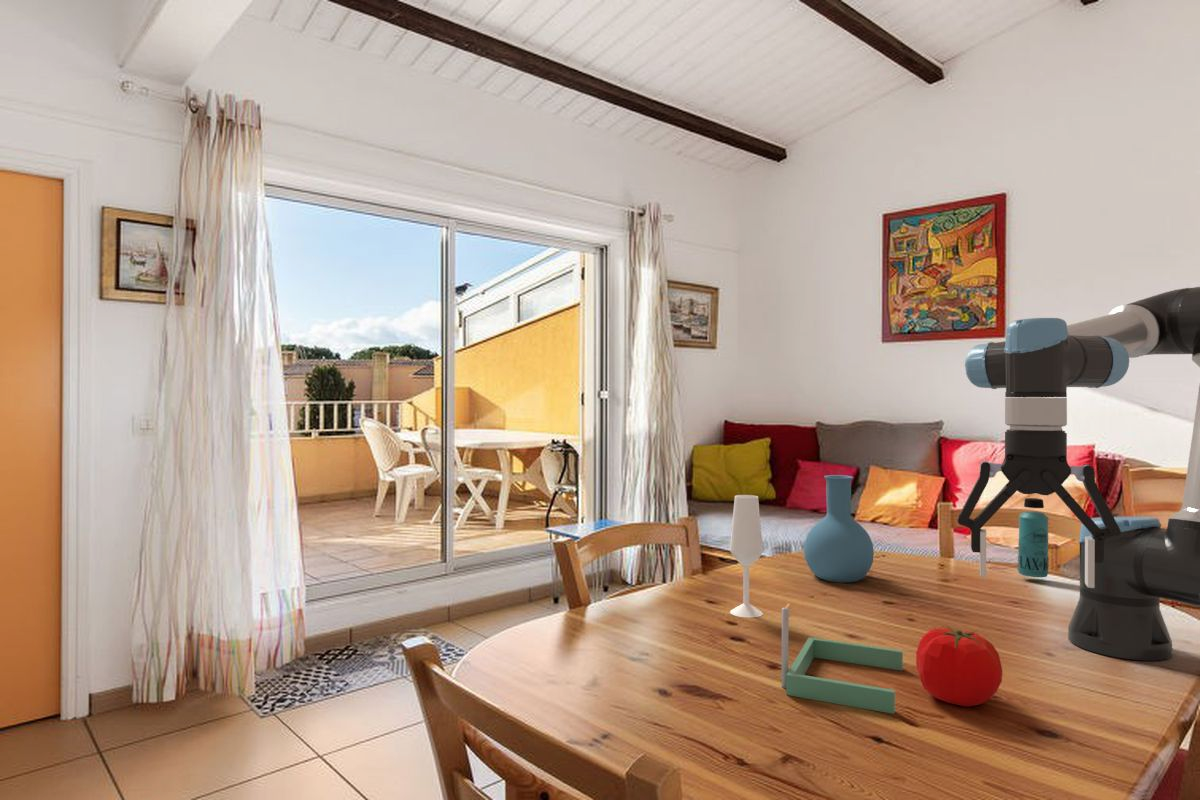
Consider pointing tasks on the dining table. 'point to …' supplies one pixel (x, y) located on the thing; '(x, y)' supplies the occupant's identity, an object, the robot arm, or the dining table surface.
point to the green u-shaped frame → (835, 689)
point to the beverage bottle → (1033, 541)
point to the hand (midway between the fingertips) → (1034, 580)
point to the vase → (838, 538)
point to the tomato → (958, 666)
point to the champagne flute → (746, 545)
